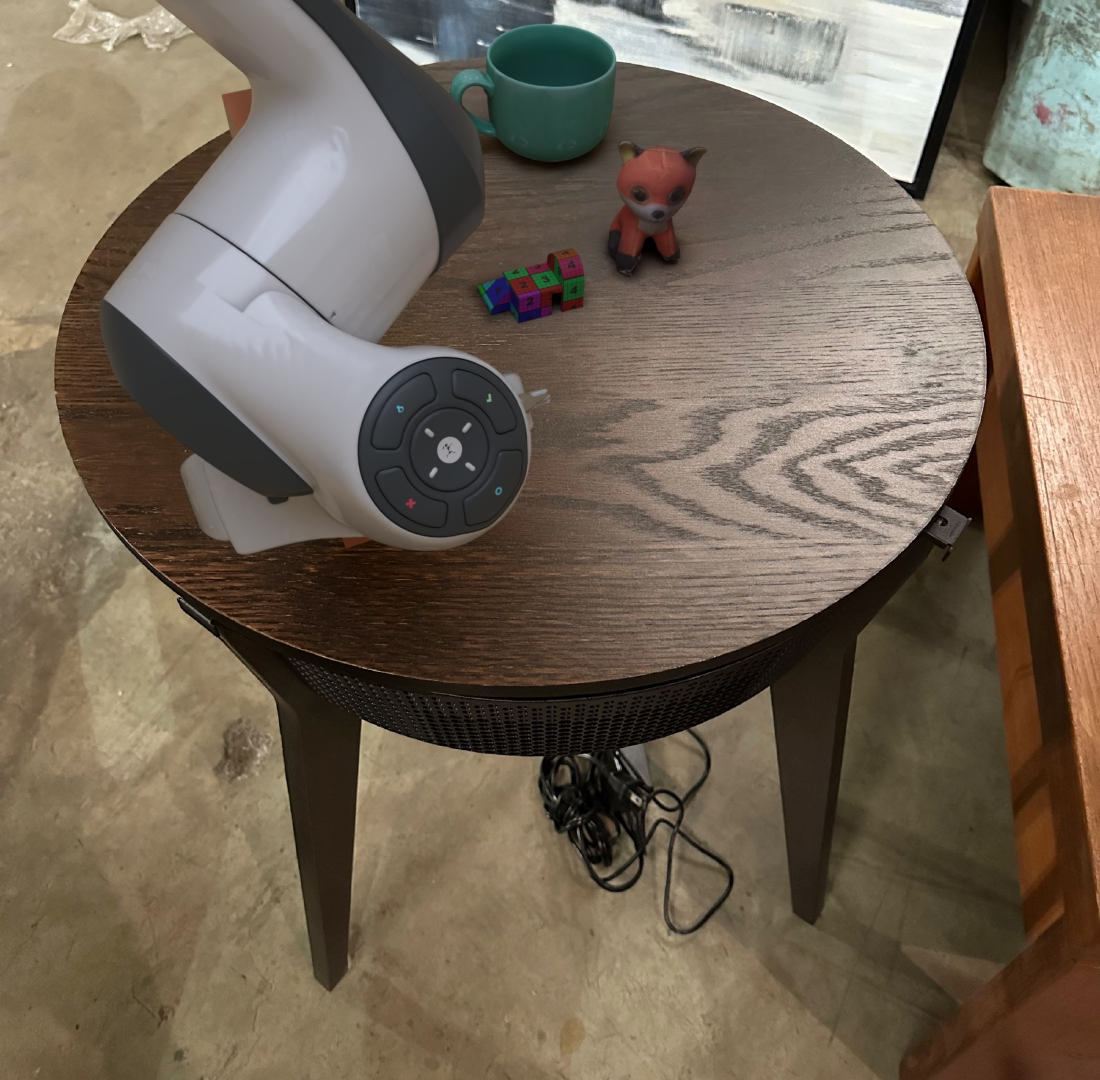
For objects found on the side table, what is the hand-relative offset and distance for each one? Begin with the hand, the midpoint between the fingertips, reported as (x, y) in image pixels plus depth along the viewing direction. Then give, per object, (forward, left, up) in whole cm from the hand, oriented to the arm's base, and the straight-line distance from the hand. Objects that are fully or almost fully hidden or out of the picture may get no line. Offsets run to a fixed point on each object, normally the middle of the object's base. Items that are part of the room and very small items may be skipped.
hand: (345, 447), depth 67 cm
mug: (+20, +49, -11) cm, 54 cm away
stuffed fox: (+28, +31, -11) cm, 44 cm away
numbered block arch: (+16, +25, -11) cm, 32 cm away
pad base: (-5, +37, -10) cm, 39 cm away
